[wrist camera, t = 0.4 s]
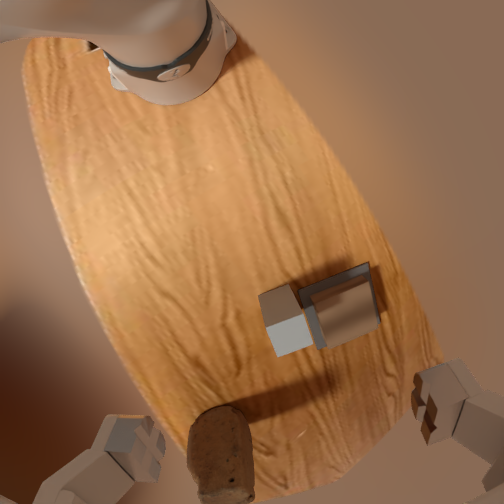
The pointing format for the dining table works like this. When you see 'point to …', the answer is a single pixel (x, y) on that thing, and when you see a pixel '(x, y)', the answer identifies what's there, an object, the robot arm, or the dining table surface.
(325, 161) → the dining table surface
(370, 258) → the dining table surface
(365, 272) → the build pad
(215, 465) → the block
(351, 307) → the base slab
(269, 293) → the pillar
